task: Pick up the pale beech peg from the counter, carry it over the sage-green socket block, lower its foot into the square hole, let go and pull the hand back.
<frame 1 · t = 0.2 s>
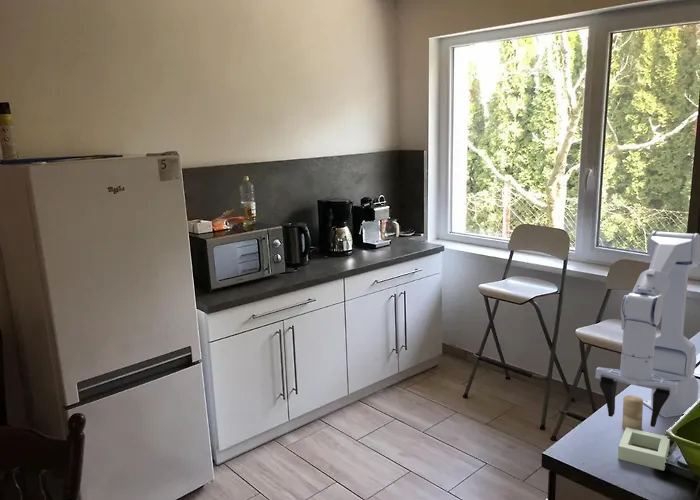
hand: (631, 420, 114), 10 cm above the countertop, tool pointing down, fingers open, 7 cm apart
peg: (631, 427, 130), on the countertop
socket: (643, 454, 120), on the countertop
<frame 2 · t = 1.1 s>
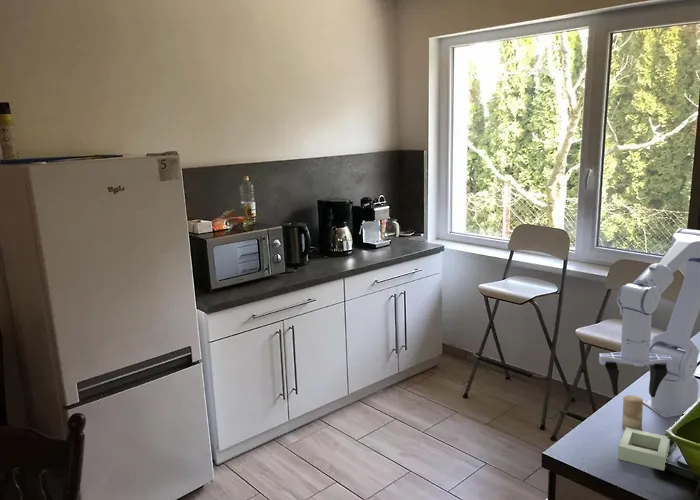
hand: (633, 394, 128), 8 cm above the countertop, tool pointing down, fingers open, 7 cm apart
nothing on the countertop moved.
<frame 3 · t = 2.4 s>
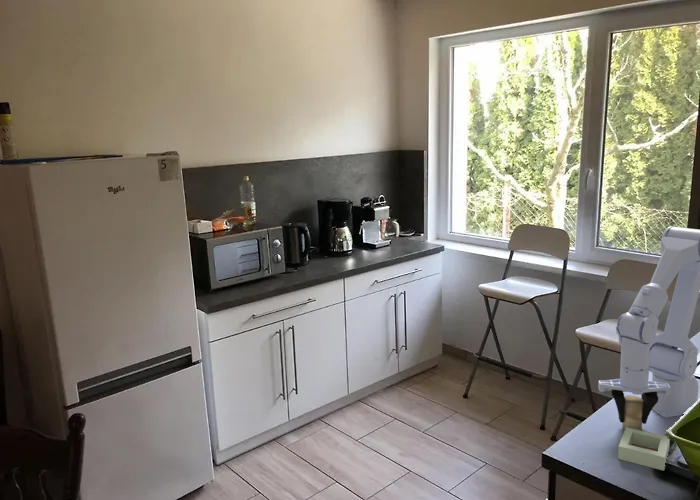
hand: (632, 420, 130), 2 cm above the countertop, tool pointing down, fingers closed on peg, 4 cm apart
peg: (632, 427, 130), on the countertop, touching gripper
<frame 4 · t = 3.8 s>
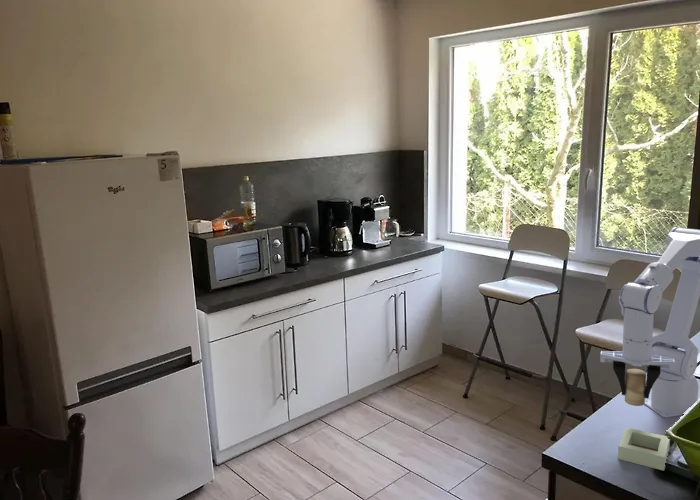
hand: (634, 394, 127), 9 cm above the countertop, tool pointing down, fingers closed on peg, 4 cm apart
peg: (634, 401, 127), point 7 cm above the countertop, touching gripper
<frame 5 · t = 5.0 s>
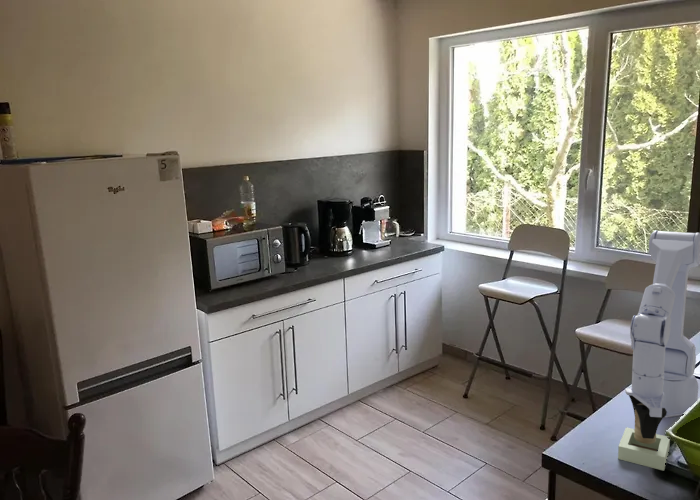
hand: (644, 431, 119), 5 cm above the countertop, tool pointing down, fingers closed on peg, 4 cm apart
peg: (644, 438, 119), point 4 cm above the countertop, touching gripper
when the fingers open (4 cm above the countertop, at t = 5.6 s): peg drops 2 cm, resting on socket.
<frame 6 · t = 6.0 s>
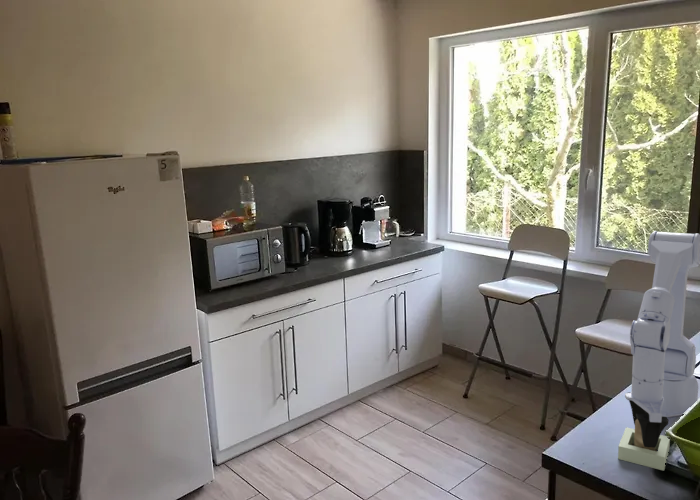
hand: (644, 436, 119), 4 cm above the countertop, tool pointing down, fingers open, 7 cm apart
peg: (644, 453, 120), resting on socket
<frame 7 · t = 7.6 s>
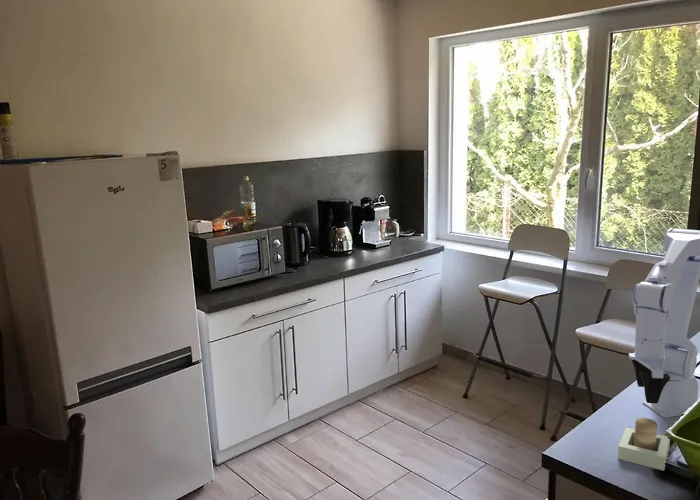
hand: (647, 394, 126), 9 cm above the countertop, tool pointing down, fingers open, 7 cm apart
nothing on the countertop moved.
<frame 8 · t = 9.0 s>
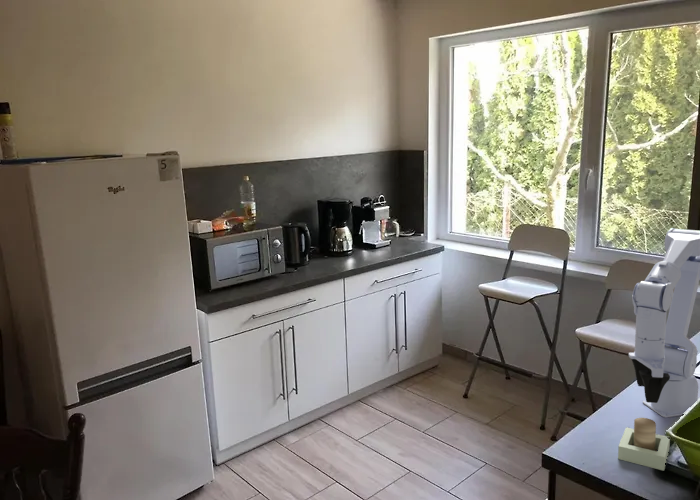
hand: (647, 393, 126), 9 cm above the countertop, tool pointing down, fingers open, 7 cm apart
nothing on the countertop moved.
at the end: peg 0.1 cm off-centre on the socket, point 0.4 cm above the socket's base; peg tilted 2°; the gripper is holding nothing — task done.
